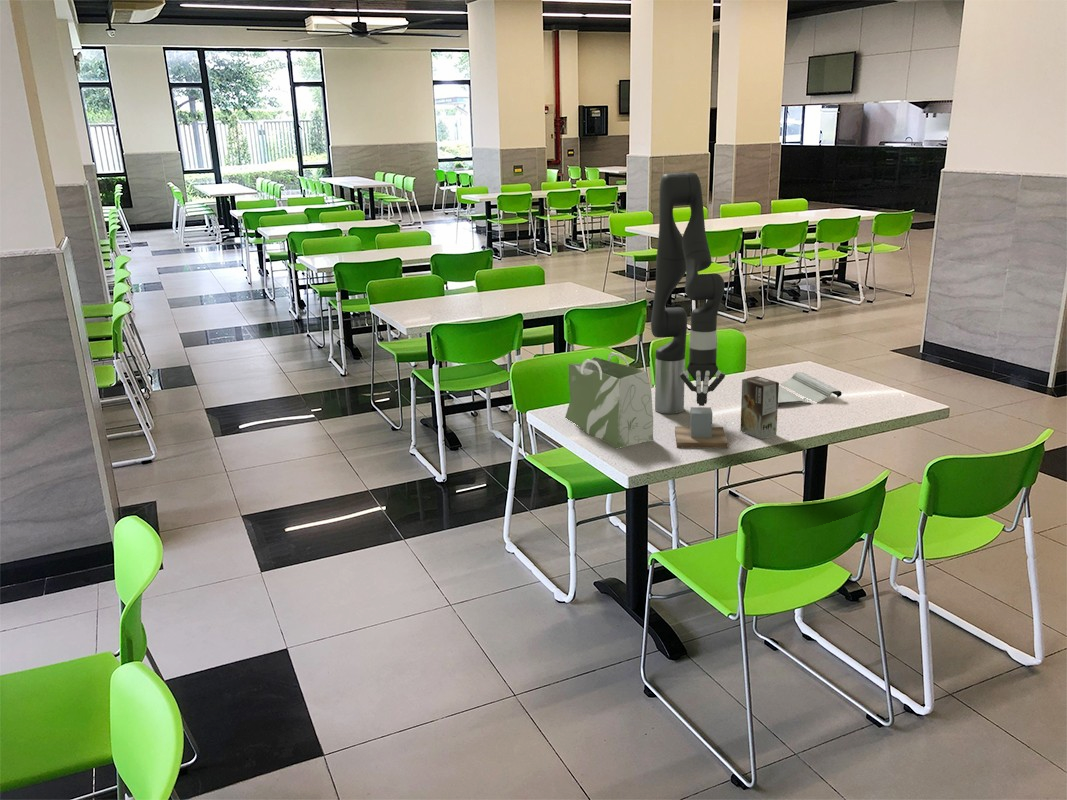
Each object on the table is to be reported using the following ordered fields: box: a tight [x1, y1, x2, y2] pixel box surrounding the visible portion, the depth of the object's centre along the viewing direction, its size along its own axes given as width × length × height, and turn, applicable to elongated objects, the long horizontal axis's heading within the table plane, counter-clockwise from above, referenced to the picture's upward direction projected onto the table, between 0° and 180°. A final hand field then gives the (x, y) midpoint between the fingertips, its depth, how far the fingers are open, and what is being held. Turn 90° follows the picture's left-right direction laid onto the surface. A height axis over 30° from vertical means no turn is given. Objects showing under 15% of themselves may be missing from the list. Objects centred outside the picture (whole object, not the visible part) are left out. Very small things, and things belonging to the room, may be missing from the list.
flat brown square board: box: [674, 425, 729, 449], centre depth 235 cm, size 14×14×8 cm
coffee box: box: [739, 375, 780, 440], centre depth 238 cm, size 9×6×16 cm
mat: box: [778, 371, 843, 405], centre depth 275 cm, size 23×24×5 cm
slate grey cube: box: [689, 406, 713, 438], centre depth 235 cm, size 6×6×7 cm
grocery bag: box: [564, 351, 654, 449], centre depth 244 cm, size 32×14×23 cm, turn 27°
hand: (701, 405), depth 233 cm, fingers closed
